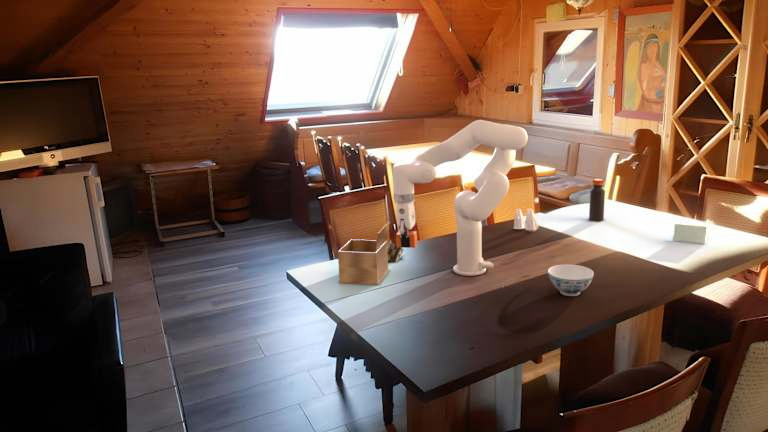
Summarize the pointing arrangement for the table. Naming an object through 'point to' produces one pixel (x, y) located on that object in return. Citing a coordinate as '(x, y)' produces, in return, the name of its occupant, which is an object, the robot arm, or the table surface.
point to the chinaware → (570, 278)
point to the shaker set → (530, 221)
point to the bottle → (597, 201)
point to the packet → (412, 238)
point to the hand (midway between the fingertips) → (407, 244)
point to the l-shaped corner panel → (691, 233)
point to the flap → (382, 236)
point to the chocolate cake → (394, 252)
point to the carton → (362, 262)
